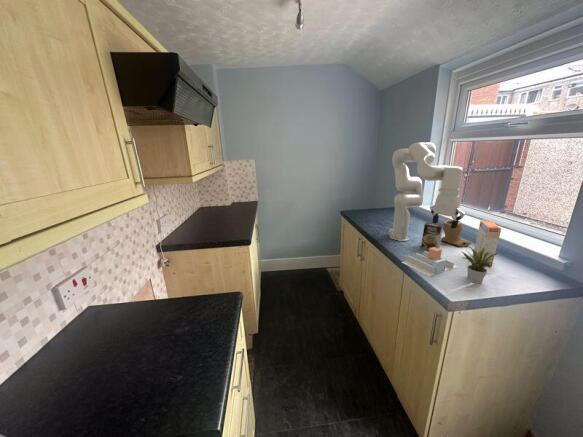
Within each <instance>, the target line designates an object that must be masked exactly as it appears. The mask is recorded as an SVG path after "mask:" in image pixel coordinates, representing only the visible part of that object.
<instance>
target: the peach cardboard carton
mask: <svg viewBox="0 0 583 437" xmlns="http://www.w3.org/2000/svg"><path fill="white" fill-rule="evenodd" d="M428 252H429V254H428V258H430V259H432V260H435V261H437V260H440V257H442V249H441V248H436V247H433V248H429V250H428Z"/></svg>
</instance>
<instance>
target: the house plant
mask: <svg viewBox="0 0 583 437" xmlns="http://www.w3.org/2000/svg"><path fill="white" fill-rule="evenodd" d="M467 247H468V248H469V249H470V250H471V251H472V253H471V252H469V251H468V250H466V249H464V250H465V251H466V252H467V253H468V254H469V255H470V256H469V255H468V254H467V253H466V252H464V251H462V250H460V251H461V253H462V254H463V255H464V257H463V259H466V260H468V261H467V262H469V263H471V264H468V265H467V278H468V279H469V280H470V281H472V283H474V284H477V285H478V284H482V282H483V280H484V279H485V276H486V274H487V273H488V270H487V269H486V267H488V268H489V269H490V268H491V267H493V265H495V263H494V262H493V263H492V262H486V261H487V260H488V259H490V258H491V257H493V256H494V259H495V258H496V257H495V256H497V255H503V253H501V252H497V253H496V252H495V254H493V255H491V256H489V257H488V258H486V259H485V257H486V255H487V254H489V253H488V251H487V252H486V254H485V255H484V257H483V256H482V255H483V253H484V250H485V247H483V249H482V250H481V252H480V257H479V256H478V254H476V253H477V252H475V251H476V250H475V249H474V248H473V247H470V245H469V246H467ZM473 253H474V255H473ZM475 256H476V257H475ZM482 257H483V259H482ZM492 259H493V258H492ZM494 259H493V260H494ZM490 260H491V259H490ZM488 261H489V260H488ZM489 264H492V265H489Z"/></svg>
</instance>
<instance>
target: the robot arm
mask: <svg viewBox="0 0 583 437" xmlns="http://www.w3.org/2000/svg"><path fill="white" fill-rule="evenodd" d="M436 151H437V147H436V145H435V143H433V142H426V141H425V142H415V143H412V144H410V145H409V147H408V148H399V149H396V150H395V151H394V152H393V154H392V166H393V169H394V176H395V188H396V190H397V191H399V192H401V193H398V194H396V195H395V196H394V200H393V202H394V215H393V226H392V228H390V229H389V230H388V233H390V234H389V238H390V239H391V240H393V239H394V241H396V240H398V241H397V242H408V241H410V239H411V238H410V236H409V234H408V233H409V226H410V218H411V213H410V211H409V209H408V208H417V207H421V206H422V205H423V202H424V193H423V192H424V191H423V181H422V179H423V180H425V181H428V182H432V181H441V187H440V188H439V189H438V192H439V193H438V195H437V196H436V199H435V202H434V203H435V204H434V205H431V206H429V209H430V213H431V215H432V223H433V224H438V223H439V217H440V215H442V216H446V217H451V218H452V220H453V221H452V224H451V228H452V229H454V228H456V227H457V224H458V221H460V220H461V219H463V218H464V217H465V216H466V212H464V211H463V210H462V209H461V208H460V206H461V203H460V202H461V198H460V195H459V192H460V187H461V182H462V175H463V167H461V166H452V165H431V164H432V163H433V162H434V160H435V157H436V156H435V154H436ZM406 163H417V167H416V169H417V173H418V175H420V176H421V177H419V176H411V175H410V168H409V167H408V165H407V164H406ZM421 178H422V179H421ZM458 215H459V216H458Z"/></svg>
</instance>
